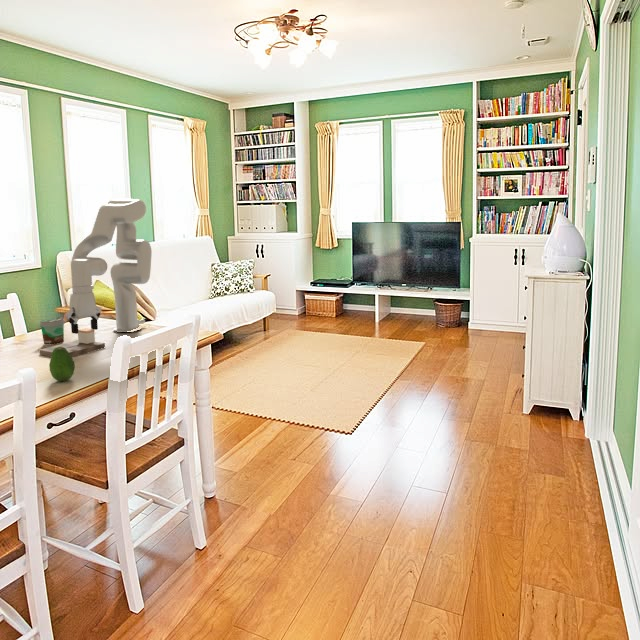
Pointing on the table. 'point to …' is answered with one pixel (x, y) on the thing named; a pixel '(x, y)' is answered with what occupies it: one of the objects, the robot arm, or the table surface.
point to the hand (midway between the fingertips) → (84, 331)
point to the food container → (53, 331)
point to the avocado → (61, 364)
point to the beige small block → (86, 335)
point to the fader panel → (74, 348)
